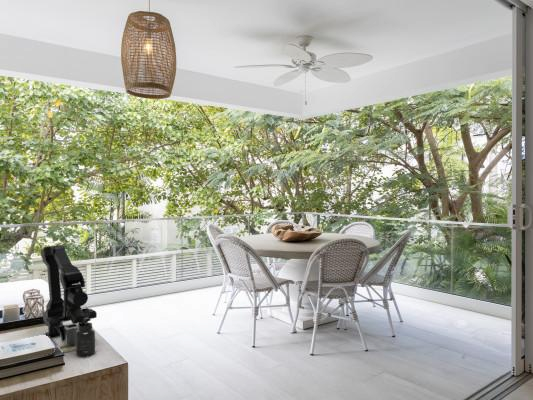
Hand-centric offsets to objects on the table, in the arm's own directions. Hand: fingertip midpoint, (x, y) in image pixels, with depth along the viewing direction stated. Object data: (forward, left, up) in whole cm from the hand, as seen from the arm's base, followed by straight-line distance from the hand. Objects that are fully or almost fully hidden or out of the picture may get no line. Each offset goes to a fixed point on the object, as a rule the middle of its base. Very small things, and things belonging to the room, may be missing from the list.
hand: (71, 338), depth 174 cm
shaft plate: (0, 0, -4) cm, 4 cm away
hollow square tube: (0, 0, -1) cm, 1 cm away
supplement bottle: (+11, +1, -4) cm, 12 cm away
